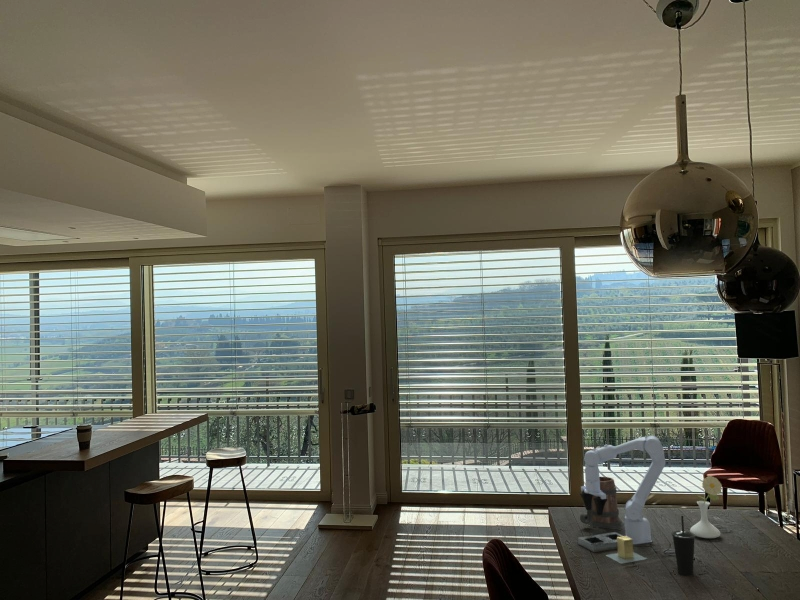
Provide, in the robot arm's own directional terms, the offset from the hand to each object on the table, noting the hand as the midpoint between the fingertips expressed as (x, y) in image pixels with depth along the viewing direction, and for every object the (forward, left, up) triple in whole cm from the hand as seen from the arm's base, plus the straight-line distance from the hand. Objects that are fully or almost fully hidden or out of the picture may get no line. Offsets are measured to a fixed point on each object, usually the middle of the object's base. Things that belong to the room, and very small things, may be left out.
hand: (594, 512), depth 246 cm
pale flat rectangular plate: (+4, +24, -10) cm, 26 cm away
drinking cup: (-6, +43, -11) cm, 45 cm away
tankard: (-12, -13, -11) cm, 21 cm away
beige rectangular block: (+4, +24, -10) cm, 26 cm away
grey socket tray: (+3, +10, -10) cm, 15 cm away
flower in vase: (-43, +17, -11) cm, 47 cm away
